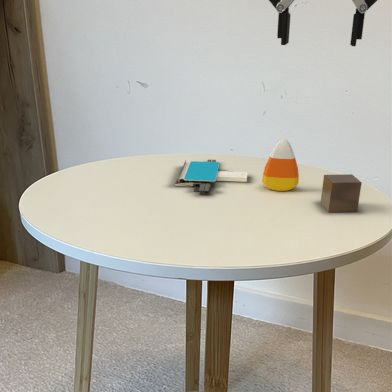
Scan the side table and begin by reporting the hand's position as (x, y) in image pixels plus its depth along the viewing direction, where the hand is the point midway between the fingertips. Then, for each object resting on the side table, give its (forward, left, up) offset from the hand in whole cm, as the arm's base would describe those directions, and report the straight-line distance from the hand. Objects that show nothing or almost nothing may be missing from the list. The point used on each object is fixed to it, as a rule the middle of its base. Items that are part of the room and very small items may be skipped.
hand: (318, 45), depth 85 cm
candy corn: (+4, -2, -22) cm, 22 cm away
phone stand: (+16, -5, -22) cm, 27 cm away
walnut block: (-6, +5, -22) cm, 23 cm away
